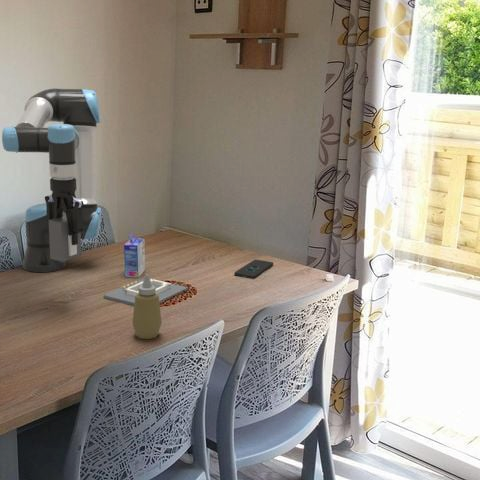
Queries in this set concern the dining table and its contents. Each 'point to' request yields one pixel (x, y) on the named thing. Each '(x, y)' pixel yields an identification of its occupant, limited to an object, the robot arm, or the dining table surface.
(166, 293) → the socket board
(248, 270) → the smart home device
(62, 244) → the keyed plug
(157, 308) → the squeeze bottle
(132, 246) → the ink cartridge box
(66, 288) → the dining table surface
